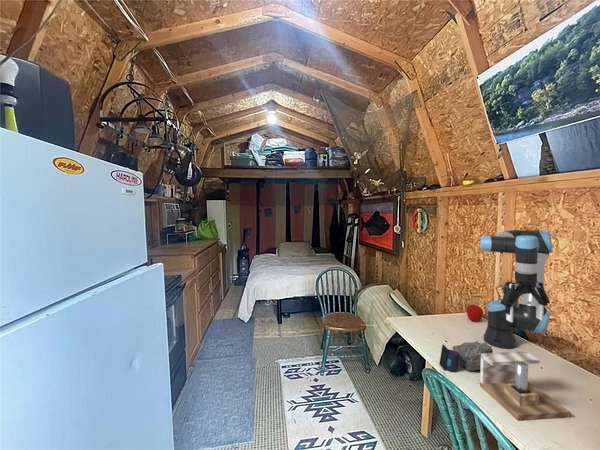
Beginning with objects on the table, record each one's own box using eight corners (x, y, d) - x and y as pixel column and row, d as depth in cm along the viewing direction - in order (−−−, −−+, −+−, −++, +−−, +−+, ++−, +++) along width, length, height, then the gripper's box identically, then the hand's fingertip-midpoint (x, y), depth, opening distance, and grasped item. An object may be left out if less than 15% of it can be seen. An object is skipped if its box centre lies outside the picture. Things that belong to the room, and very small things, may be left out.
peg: (529, 402, 109) (531, 366, 108) (520, 402, 109) (520, 367, 108) (521, 395, 113) (522, 361, 112) (511, 395, 113) (512, 361, 112)
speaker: (439, 370, 135) (442, 348, 134) (439, 364, 140) (441, 343, 139) (458, 374, 132) (460, 353, 131) (456, 368, 137) (459, 348, 136)
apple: (469, 323, 187) (469, 307, 186) (463, 317, 196) (463, 302, 195) (485, 324, 185) (486, 307, 184) (479, 318, 194) (479, 302, 194)
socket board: (524, 383, 124) (525, 351, 123) (570, 417, 104) (571, 378, 103) (479, 385, 123) (480, 353, 122) (517, 420, 103) (518, 381, 102)
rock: (507, 371, 127) (496, 351, 141) (490, 347, 128) (480, 329, 142) (467, 385, 134) (460, 364, 148) (451, 362, 134) (445, 343, 148)
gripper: (545, 268, 126) (544, 314, 128) (491, 271, 125) (490, 318, 126) (562, 272, 119) (560, 321, 120) (504, 275, 117) (503, 325, 119)
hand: (524, 320), depth 123 cm, fingers open, 13 cm apart
